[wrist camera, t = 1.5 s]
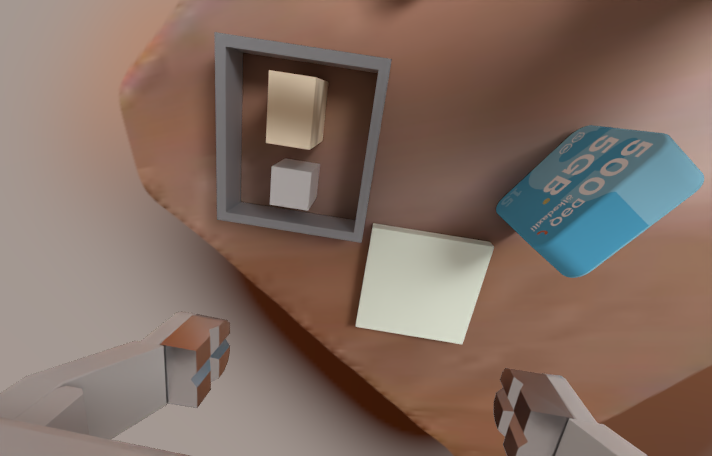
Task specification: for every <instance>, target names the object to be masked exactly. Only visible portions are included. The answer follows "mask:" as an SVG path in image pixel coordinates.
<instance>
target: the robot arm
mask: <svg viewBox="0 0 712 456" xmlns="http://www.w3.org/2000/svg"><path fill="white" fill-rule="evenodd" d="M229 333H230V323H229V322H228V320H224V319H219V318H214V317H208V316H204V315H199V314H193V313H187V312H177V313H175V314H174V315H173V316H171V317H170V318H169V319H168V320H166V321H165V322H164V323H163V324H161V325H160V326H159V327H158V328H157V329H155V330H154V331H153V332H152V333H150V334H149V335H148V336H147V337H145V338H144V339H143V340H141V341H132V342H129V343H126V344H123V345H120V346H117V347H114V348H111V349H108V350H105V351H102V352H99V353H96V354H93V355H90V356H87V357H83V358H80V359H77V360H74V361H71V362H68V363H65V364H62V365H59V366H56V367H53V368H50V369H47V370H44V371H41V372H38V373H35V374H32V375H28V376H26V377H24V378H23V379H21V380H20V381H18V382H16V383H15V384H13V385H12V386H10V387H9V388H7V389H6V390H4V391H3V392H1V393H0V456H189V455H185V454H180V453H174V452H170V451H165V450H160V449H155V448H150V447H145V446H140V445H135V444H130V443H125V442H121V441H115V440H111V439H112V438H114V437H115V436H117V435H119V434H120V433H122V432H124V431H125V430H127V429H128V428H130V427H132V426H133V425H135V424H137V423H138V422H140V421H142V420H143V419H145V418H146V417H148V416H149V415H151V414H153V413H155V412H156V411H158V410H159V409H161V408H163V407H164V406H166V405H167V403H168V404H175V405H181V406H187V407H193V408H198V406H199V405H200V404H201V402H202V401H203V399H204V398H205V397H206V395H207V394H208V393H209V391H210V390H211V382H212V381H214V380H216V379H218V378H219V377H220V376H221V374H222V373H223V371H224V370H225V367H226V365H227V362H228V358H229V352H230V345H229V344H228V342H227V341H226V339H225V338H226V337H227V336H228V335H229ZM500 381H501V383H502V385H503V388H502V389H500V390H499V391H498V392H496V395H495V399H494V419H495V423H496V426H497V429H498V430H499V431H500V432H501V433H502V434H503V435H504V436H505V439H504V443H503V446H504V448H505V451H506V454H507V456H647V455H646V454H645V453H643V452H642V451H640V450H639V449H638V448H636V447H635V446H633V445H632V444H630V443H629V442H628V441H626V440H625V439H623V438H622V437H620V436H619V435H618V434H616V433H615V432H613V431H612V430H611V429H609V428H608V427H607V426H605V425H603V424H598V423H597V422H596V421H595V419H594V418H593V417H592V415H591V414H590V412H589V411H588V410H587V408H586V407H585V405H584V404H583V403H582V401H581V400H580V398H579V397H578V396H577V394H576V393H575V391H574V390H573V389H572V387H571V386H570V384H569V383H568V382H567V380H566V379H565V378H563V377H562V376H558V375H551V374H544V373H542V374H541V373H534V372H528V371H522V370H515V369H509V368H505V369H504V371H503V372H502V375H501V378H500Z"/></svg>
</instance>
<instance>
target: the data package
mask: <svg viewBox="0 0 712 456" xmlns="http://www.w3.org/2000/svg"><path fill="white" fill-rule="evenodd" d="M703 182H704V175H703V173H702V172H701V171H700V170H699V169H698V168H697V166H696V165H695V164H694V163H693V162H692V161H691V160H690V159H689V157H688V156H687V155H686V154H685V153H684V152H683V151H682V150H681V148H680V147H679V146H678V145H677V144H676V143H675V142H674V141H673V139H672V138H671V137H670V136H669V135H667V134H664V133H655V132H646V131H637V130H628V129H619V128H610V127H601V126H592V125H589V126H585V127H582V128H580V129H578V130H577V131H575V132H574V133H572V134H571V135H570V136H569V137H568V138H567V139H566V140H564V141H563V142H562V143H561V144H560V145H559V146H558V147H557V148H556V149H555V150H554V151H553V152H552V153H550V154H549V155H548V156H547V157H546V158H545V159H544V160H543V161H542V162H541V163H540V164H539V165H538V166H536V167H535V168H534V169H533V170H532V171H531V172H530V173H529V174H528V175H527V176H526V177H525V178H524V179H523V180H521V181H520V182H519V183H518V184H517V185H516V186H515V187H514V188H513V189H512V190H511V191H510V192H509V193H507V194H506V195H505V196H504V197H503V198H502V199H501V200H500V202H499V203H498V205H497V207H496V212H497V214H498V215H499V216H500V217H501V218H503V219H504V220H505V221H506V222H507V223H508V224H509V225H510V226H511V227H512V228H513V229H514V230H515V231H516V232H517V233H518V234H519V235H520V236H521V237H522V238H523V239H524V240H525V241H526V242H527V243H528V244H530V245H531V246H532V247H533V248H534V249H535V250H536V251H537V252H538V253H539V254H540V255H542V256H543V257H544V258H545V259H546V260H547V261H548V262H549V263H550V264H551V265H552V266H554V267H555V268H556V269H557V270H558V271H559V272H560V273H561V274H562V275H564V276H566V277H570V278H576V277H581V276H584V275H586V274H588V273H589V272H591V271H592V270H593V269H595V268H596V267H597V266H599V265H600V264H601V263H603V262H604V261H605V260H607V259H608V258H609V257H611V256H612V255H613V254H615V253H616V252H617V251H618V250H620V249H621V248H622V247H624V246H625V245H626V244H628V243H629V242H630V241H632V240H633V239H634V238H636V237H637V236H638V235H640V234H641V233H642V232H644V231H645V230H646V229H648V228H649V227H650V226H652V225H653V224H654V223H656V222H657V221H658V220H659V219H661V218H662V217H663V216H665V215H666V214H667V213H669V212H670V211H671V210H673V209H674V208H675V207H677V206H678V205H679V204H681V203H682V202H683V201H685V200H686V199H687V198H689V197H690V196H691V195H693V194H694V193H695V192H696V191H697V190H698V189H699V188H700V187H701V186H702V184H703Z"/></svg>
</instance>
